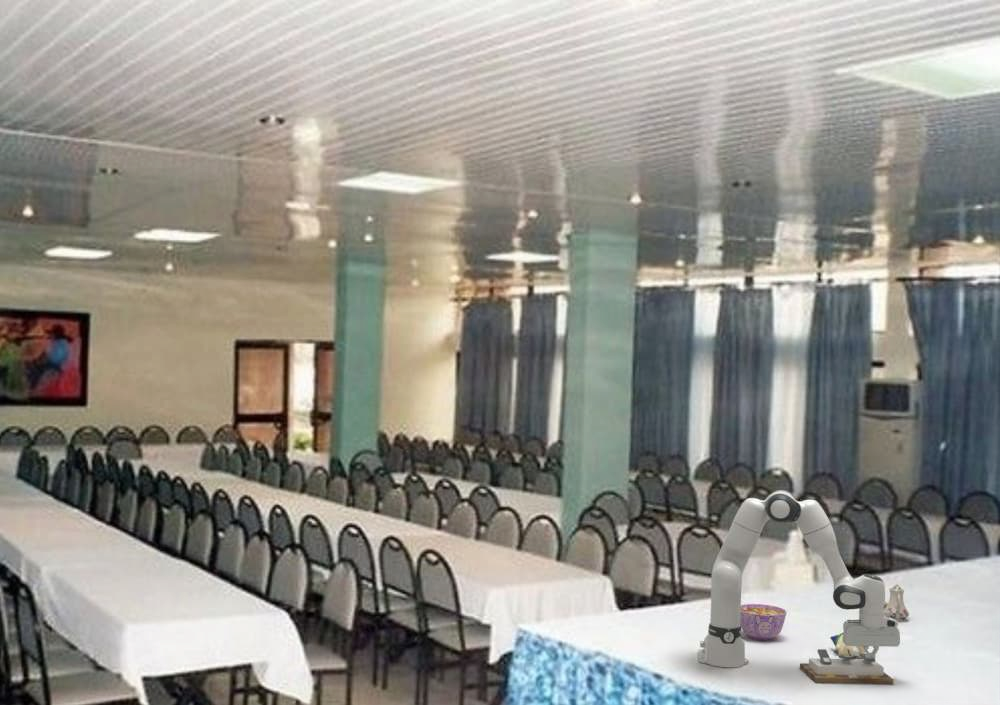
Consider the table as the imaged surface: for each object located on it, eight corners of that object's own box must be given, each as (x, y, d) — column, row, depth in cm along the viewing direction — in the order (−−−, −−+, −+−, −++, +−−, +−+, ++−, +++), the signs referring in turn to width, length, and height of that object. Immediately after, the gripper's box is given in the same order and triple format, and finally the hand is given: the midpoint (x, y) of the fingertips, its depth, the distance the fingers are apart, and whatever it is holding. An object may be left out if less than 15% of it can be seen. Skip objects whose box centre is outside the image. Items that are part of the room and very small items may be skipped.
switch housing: (808, 666, 411) (809, 655, 411) (872, 667, 412) (873, 656, 412) (817, 674, 401) (818, 663, 401) (883, 675, 402) (883, 664, 402)
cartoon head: (860, 669, 426) (824, 653, 445) (877, 654, 430) (841, 639, 448) (852, 651, 424) (816, 635, 442) (869, 636, 427) (833, 622, 446)
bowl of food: (766, 646, 445) (767, 617, 444) (725, 635, 460) (726, 607, 460) (795, 639, 458) (796, 611, 458) (755, 628, 473) (756, 601, 473)
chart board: (799, 668, 415) (799, 662, 415) (873, 669, 416) (873, 664, 416) (815, 683, 397) (816, 677, 397) (893, 684, 398) (893, 678, 398)
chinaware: (866, 614, 515) (863, 577, 515) (904, 613, 511) (901, 576, 512) (874, 628, 487) (871, 590, 487) (914, 627, 484) (911, 589, 484)
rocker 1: (817, 651, 409) (817, 649, 409) (825, 651, 410) (825, 649, 409) (823, 664, 403) (823, 662, 403) (831, 664, 403) (831, 662, 403)
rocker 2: (838, 657, 410) (838, 654, 410) (846, 657, 410) (846, 654, 410) (845, 659, 403) (845, 656, 403) (853, 659, 403) (853, 656, 403)
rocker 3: (859, 656, 410) (860, 653, 410) (867, 656, 410) (868, 653, 410) (867, 661, 403) (867, 658, 403) (875, 662, 404) (875, 659, 403)
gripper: (846, 621, 401) (845, 660, 401) (902, 622, 402) (901, 660, 402) (840, 617, 407) (839, 655, 407) (895, 618, 408) (894, 656, 408)
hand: (870, 658), depth 405 cm, fingers closed, pressing on rocker 3
